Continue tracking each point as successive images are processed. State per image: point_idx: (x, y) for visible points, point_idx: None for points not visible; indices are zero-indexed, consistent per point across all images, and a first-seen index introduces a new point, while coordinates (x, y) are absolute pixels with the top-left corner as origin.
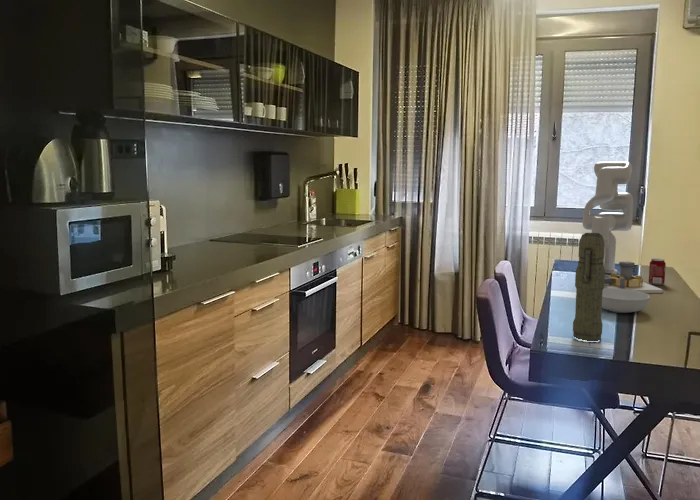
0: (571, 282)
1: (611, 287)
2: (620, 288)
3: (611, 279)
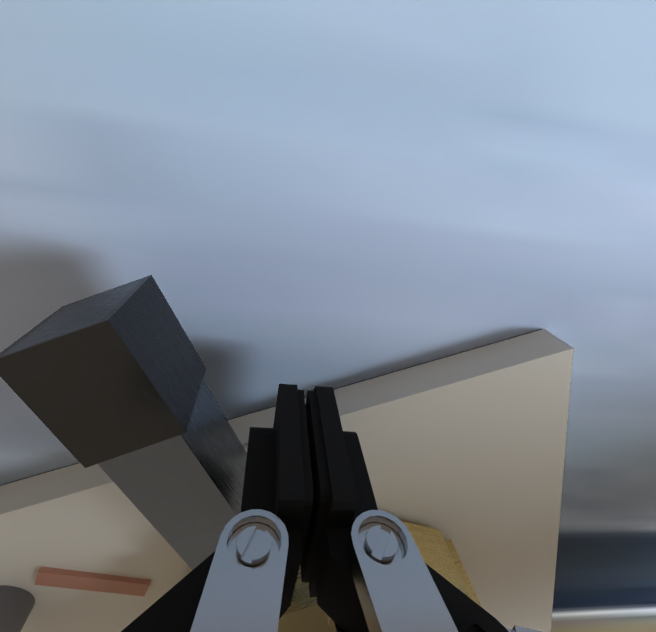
0: (597, 40)
1: (87, 525)
2: None
3: None
